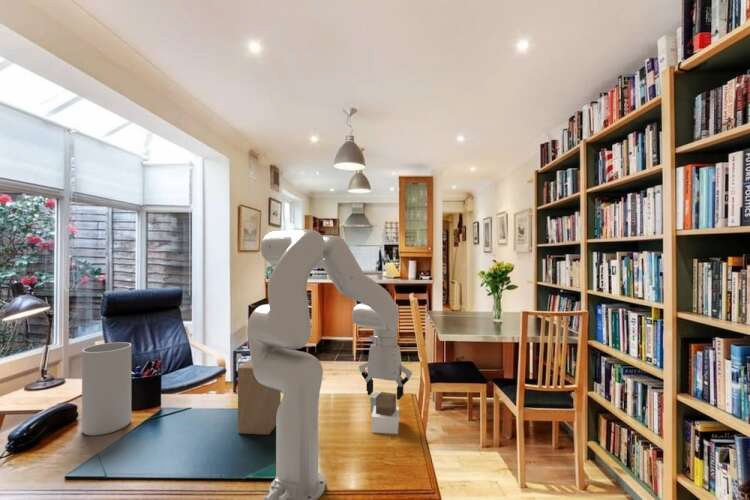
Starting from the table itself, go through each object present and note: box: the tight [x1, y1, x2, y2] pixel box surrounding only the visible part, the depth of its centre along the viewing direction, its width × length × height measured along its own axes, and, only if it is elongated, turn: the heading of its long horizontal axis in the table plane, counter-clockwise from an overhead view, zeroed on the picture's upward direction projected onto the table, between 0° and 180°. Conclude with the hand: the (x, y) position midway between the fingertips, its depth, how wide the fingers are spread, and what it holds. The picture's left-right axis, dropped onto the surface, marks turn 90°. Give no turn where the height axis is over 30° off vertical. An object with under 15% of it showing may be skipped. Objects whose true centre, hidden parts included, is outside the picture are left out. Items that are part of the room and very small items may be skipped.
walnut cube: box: [376, 391, 397, 416], centre depth 114 cm, size 5×5×5 cm
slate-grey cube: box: [370, 391, 381, 413], centre depth 126 cm, size 5×5×5 cm
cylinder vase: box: [81, 341, 133, 437], centre depth 114 cm, size 12×12×25 cm
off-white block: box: [370, 406, 400, 435], centre depth 114 cm, size 8×8×5 cm
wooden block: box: [237, 359, 282, 436], centre depth 114 cm, size 10×10×20 cm
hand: (384, 395), depth 114 cm, fingers open, 9 cm apart
